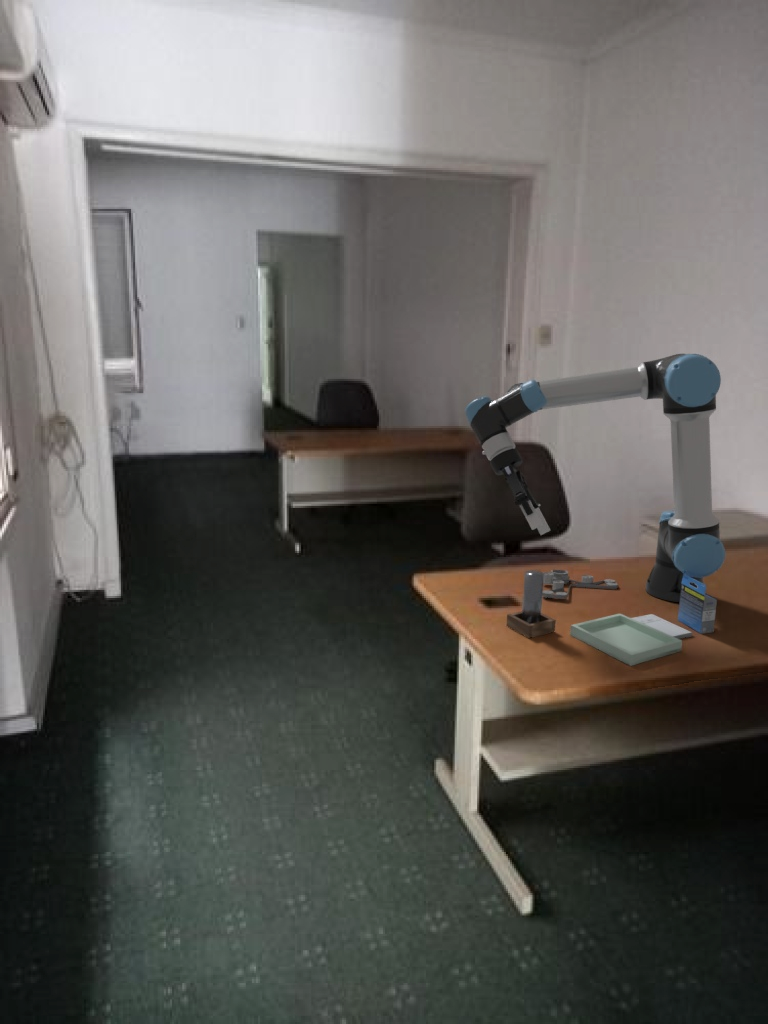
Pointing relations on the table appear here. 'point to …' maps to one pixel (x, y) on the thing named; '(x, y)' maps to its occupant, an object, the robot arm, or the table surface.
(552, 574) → the pulley system
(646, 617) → the external hard drive
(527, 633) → the pin socket
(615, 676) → the table surface
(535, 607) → the pin
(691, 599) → the label tape box
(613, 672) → the table surface
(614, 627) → the tray
